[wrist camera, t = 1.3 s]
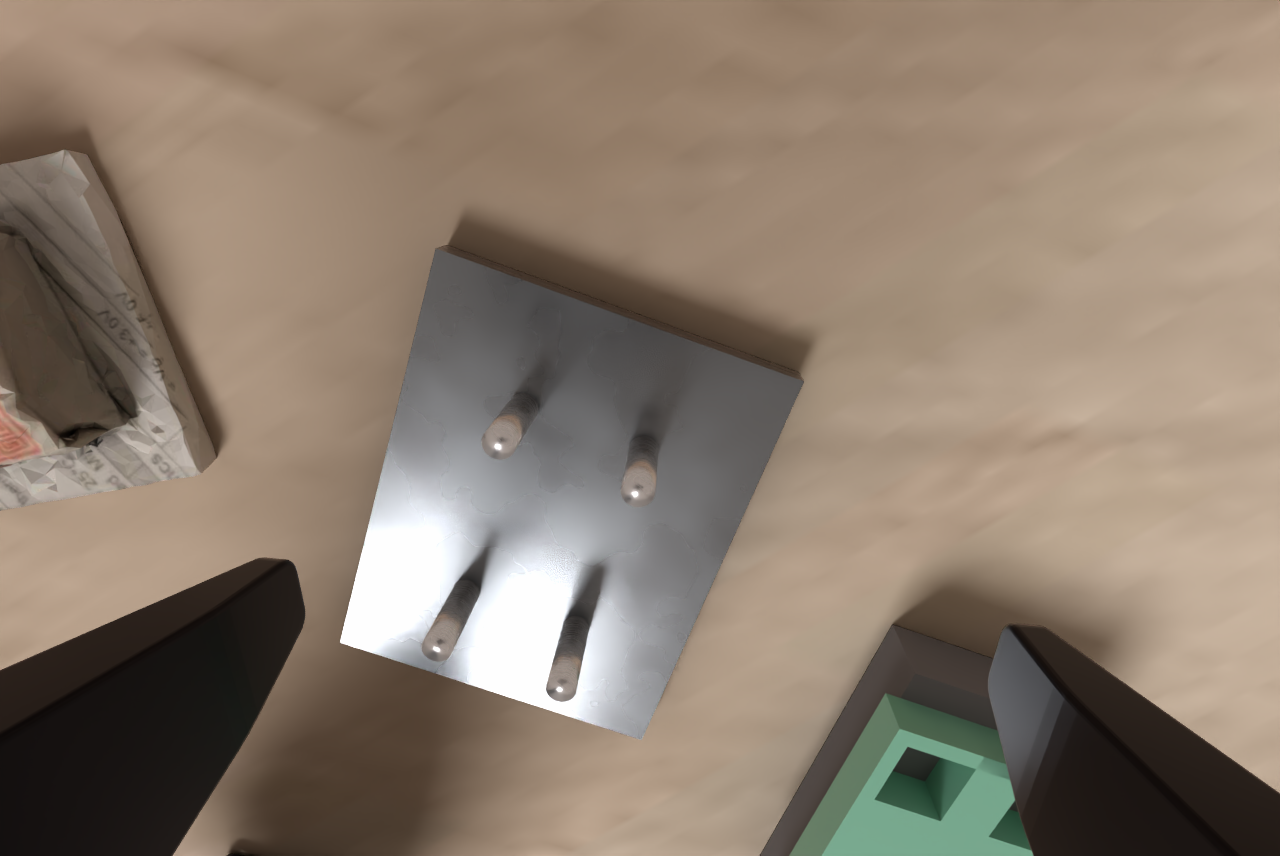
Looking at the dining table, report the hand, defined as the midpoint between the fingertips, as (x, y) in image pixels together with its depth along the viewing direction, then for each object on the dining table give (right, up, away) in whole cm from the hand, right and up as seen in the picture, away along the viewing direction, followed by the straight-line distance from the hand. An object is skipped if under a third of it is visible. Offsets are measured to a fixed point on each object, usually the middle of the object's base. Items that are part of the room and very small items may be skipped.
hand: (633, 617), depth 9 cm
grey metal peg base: (-3, 0, +14) cm, 14 cm away
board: (+9, -11, +15) cm, 21 cm away
